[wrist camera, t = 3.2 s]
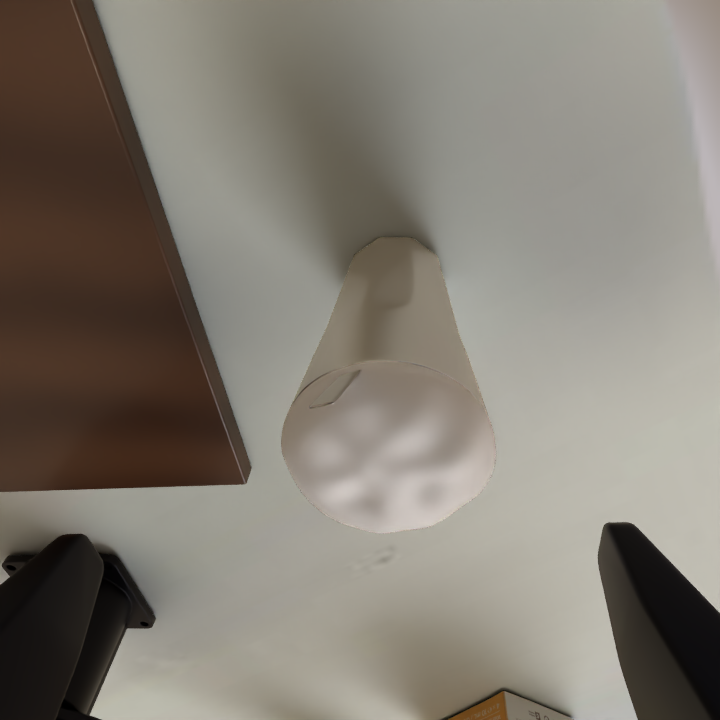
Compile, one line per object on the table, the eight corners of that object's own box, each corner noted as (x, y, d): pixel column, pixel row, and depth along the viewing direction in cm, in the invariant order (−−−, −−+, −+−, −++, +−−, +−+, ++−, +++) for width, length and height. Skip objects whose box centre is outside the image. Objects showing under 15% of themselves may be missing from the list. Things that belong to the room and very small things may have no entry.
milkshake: (438, 169, 16) (466, 371, 8) (477, 319, 19) (529, 582, 11) (297, 215, 17) (194, 432, 9) (353, 350, 20) (315, 609, 12)
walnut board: (252, 467, 24) (246, 485, 23) (6, 476, 26) (-7, 493, 25) (83, -30, 14) (63, -30, 13) (-308, 36, 15) (-348, 40, 15)
